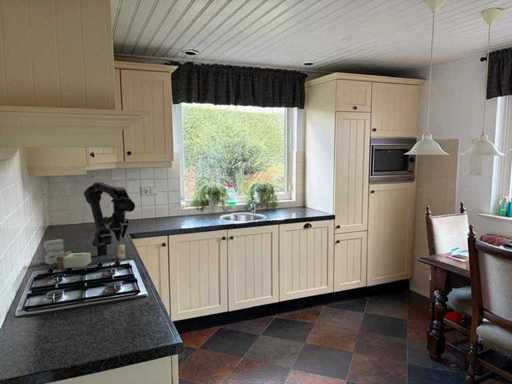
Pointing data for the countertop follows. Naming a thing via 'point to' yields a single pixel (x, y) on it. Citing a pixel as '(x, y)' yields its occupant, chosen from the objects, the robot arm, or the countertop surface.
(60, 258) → the wall board
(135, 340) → the countertop surface
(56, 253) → the ink box
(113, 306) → the countertop surface
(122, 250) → the dowel
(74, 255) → the socket block
